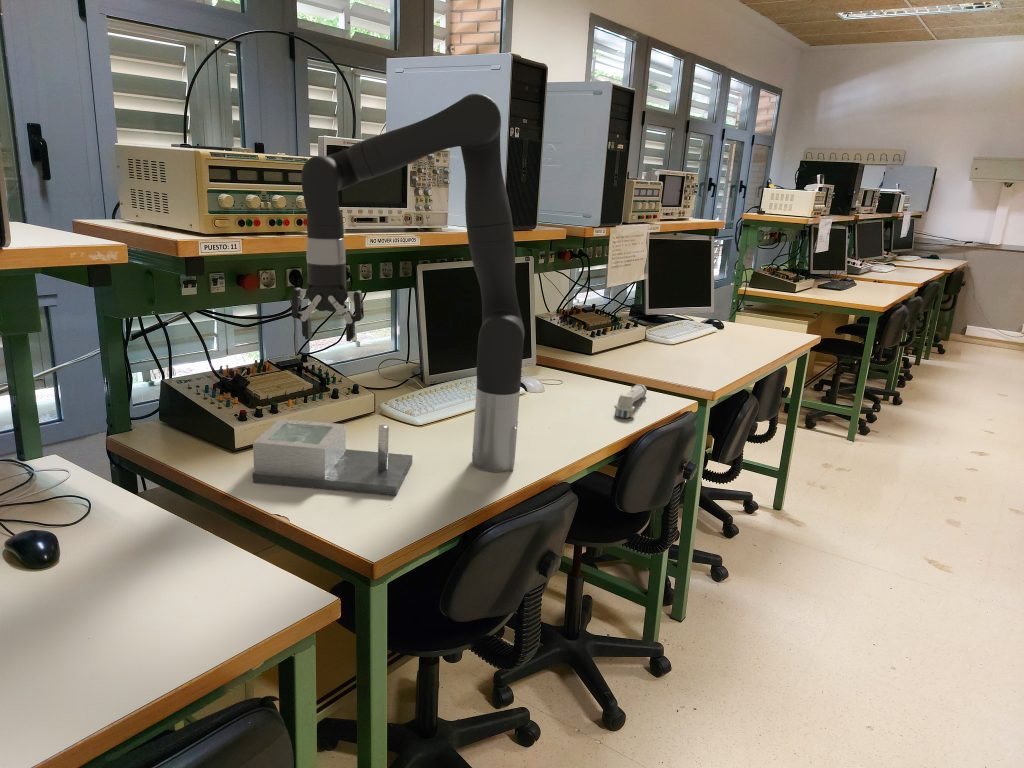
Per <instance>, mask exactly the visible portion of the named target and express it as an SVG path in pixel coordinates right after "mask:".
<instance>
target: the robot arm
mask: <svg viewBox="0 0 1024 768" xmlns="http://www.w3.org/2000/svg"><path fill="white" fill-rule="evenodd" d="M501 128H502V115H501V111H500V108H499V106H498V104H497V103H496V102H495V100H493V98H491V97H489V96H488V95H485V94H484V93H470V94H468V95H465V96H464V97H462V98H461V99H460V100H458V101H457V102H454V103H453V104H451V105H450V106H448V107H446V108H444V109H443V110H440V111H439V112H437V113H435V114H433V115H431V116H430V115H429V117H426V118H423V119H422V120H419V121H417V122H414V123H410V124H409V125H408V124H407V125H406V126H402V127H399V128H396V129H393V130H389V131H387V132H384V133H383V132H382V133H381V134H377V135H375V136H372V137H369V138H367V139H364V140H361V141H359V142H356V143H354V144H352V145H351V146H349V148H347V149H343V150H340V151H338V152H334V153H331V154H329V155H325V156H323V155H315V156H312V157H310V158H309V159H307V160H306V161H305V162H304V164H303V166H302V169H301V175H300V176H301V189H302V190H301V191H302V195H303V200H304V201H303V203H304V206H305V210H306V232H307V233H306V236H307V237H306V238H307V240H306V241H307V242H306V243H307V244H306V255H305V258H306V266H307V267H306V269H307V270H306V271H307V288H306V289H305V288H301V287H294V288H293V289H292V291H291V317H292V318H294V319H297V320H300V322H301V334H302V337H304V339H305V340H308V341H309V340H311V339H312V336H313V335H312V320H311V319H310V318H311V317H312V315H313V314H315V312H316V311H319V312H326V311H327V312H331V313H332V312H334V313H335V312H338V313H339V315H340V316H342V317H343V319H344V321H345V322H346V323H345V336H346V337H345V338H346V342H352V340H353V339H354V338H355V337H356V323H357V322H360V321H362V320H363V319H364V318H365V312H364V311H365V310H364V302H363V300H364V299H363V297H364V296H363V291H362V290H361V289H358V290H356V291H354V290H353V291H349V290H348V288H347V266H346V264H347V263H346V262H347V260H346V257H347V256H346V246H345V245H346V244H345V239H344V238H345V236H344V235H345V233H344V232H345V230H344V229H345V227H344V217H343V212H342V210H341V209H340V202H339V201H340V199H339V191H342V190H344V189H347V188H348V187H351V186H353V185H356V184H358V183H361V182H362V181H365V180H366V181H367V180H372V179H374V178H377V177H380V176H383V175H386V174H388V173H392V172H394V171H396V170H399V169H401V168H404V167H405V166H407V165H408V166H409V165H410V164H412V163H415V162H416V161H419V160H420V159H422V158H424V157H427V156H429V155H432V154H435V153H438V152H441V151H443V150H444V151H445V150H447V149H452V148H458V147H460V151H461V157H462V161H463V167H464V173H465V191H464V193H465V195H464V197H465V200H464V201H465V203H464V204H465V205H464V208H465V213H464V214H465V225H466V234H467V241H468V248H469V252H470V257H471V261H472V265H473V268H474V272H475V273H476V275H475V276H476V277H477V281H478V284H479V288H480V289H479V290H480V294H481V295H480V296H481V306H482V308H481V309H482V311H481V312H482V314H481V315H482V320H481V321H482V323H481V327H480V329H479V331H478V332H479V333H478V337H477V338H478V339H477V356H476V375H475V376H476V387H475V388H476V390H475V391H476V392H475V403H474V422H473V423H474V425H473V438H472V452H471V457H472V458H471V464H472V466H474V468H476V469H479V470H481V471H486V472H492V473H493V472H495V473H499V472H506V471H514V469H515V468H514V467H515V460H516V450H517V449H516V446H517V437H518V436H517V435H518V434H517V433H518V423H519V421H518V420H519V408H520V395H521V394H520V393H521V385H522V384H521V383H522V366H523V355H524V354H523V353H524V342H525V341H524V340H525V334H526V333H525V330H526V329H525V326H524V323H523V318H522V314H521V310H520V306H519V301H518V296H517V289H516V248H515V247H516V245H515V235H514V225H513V224H514V223H513V217H512V216H513V215H512V211H511V206H510V200H509V196H508V192H507V188H506V184H505V180H504V175H503V170H502V162H501V161H502V159H501V158H502V157H501V156H502V155H501ZM305 296H306V297H307V298H308V300H309V301H310V302H311V303H310V304H309V305H308V307H307V308H306V309H305V311H304V312H302V302H303V301H302V300H303V299H304V298H305ZM348 298H350V301H351V302H352V303H353V306H354V313H353V312H352V311H351V310H350V307H349V306H348V305H347V303H346V301H347V299H348Z"/></svg>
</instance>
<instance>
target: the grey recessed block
mask: <svg viewBox="0 0 1024 768" xmlns="http://www.w3.org/2000/svg"><path fill="white" fill-rule="evenodd" d="M346 427H347V425H346V424H343V423H334V422H320V421H311V420H309V421H308V420H299V419H298V420H297V419H288V418H279V419H278V420H276V421H275V423H273V424H272V425H271V426H270V427H269V428H268V429H267V430H265V431H264V432H263V433H262V434H260V436H258V438H256V439H255V440H254V441H253V442H252V452H253V455H252V456H253V457H252V458H253V472H254V471H257V472H267V473H278V474H289V475H300V476H311V477H321V478H325V477H326V476H327V475H328V473H329V472H330V471H331V469H332V468H333V467H334V466H335V464H336V463H337V462H338V460H339V459H340V458H341V456H342V455H343V454H344V453H345V451H346V447H347V445H346V443H347V442H346V441H347V440H346V438H347V437H346V435H347V434H346V432H347V428H346Z"/></svg>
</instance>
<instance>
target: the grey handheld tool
mask: <svg viewBox="0 0 1024 768" xmlns="http://www.w3.org/2000/svg"><path fill="white" fill-rule="evenodd" d="M647 391H648V388H647V387H646V385H644V384H643V383H636V384H634V385H633V386H631V388H630V390H628V391H627V392H626V394H625V393H622V394H620V395H619V397H618V400H617V403H615V404H614V407H613V408H615V409H614V410H615V411H614V415H615V416H616V417H618V418H623V419H624V418H625V419H628V418H630V417H631V418H632V417H633V415H634V414H633V413H634V411H635V410H636V407H635V406H633V403H635V402H637V401H638V400H641V399H640V398H642V399H643V398H644V397H646V395H647Z"/></svg>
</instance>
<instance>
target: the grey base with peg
mask: <svg viewBox="0 0 1024 768" xmlns="http://www.w3.org/2000/svg"><path fill="white" fill-rule="evenodd" d="M389 431H390V426H389V425H388V424H379V425H378V436H377V437H378V440H377V441H378V442H377V443H378V445H377V448H378V449H377V451H368V450H357V449H349V448H347V449H346V451H345V453H344V454H343V455H342V456H341V458H340V459H339V460H338V462H337V463H336V464H335V466H334V467H333V468H332V469H331V471H330V472H329V473H328V475H327V476H326V477H325V478H321V477H311V476H300V475H289V474H278V473H267V472H257V471H254V470H253V472H252V483H253V484H261V485H270V486H271V485H272V486H283V487H294V488H304V489H305V488H307V489H313V490H314V489H315V490H326V491H337V492H348V493H357V494H370V495H378V496H379V495H381V496H389V497H397V495H398V493H399V491H400V490H401V487H402V485H403V483H404V482H405V479H406V477H407V475H408V473H409V471H410V470H411V467H412V465H413V454H401V453H389V436H390V435H389V433H390V432H389Z"/></svg>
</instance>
